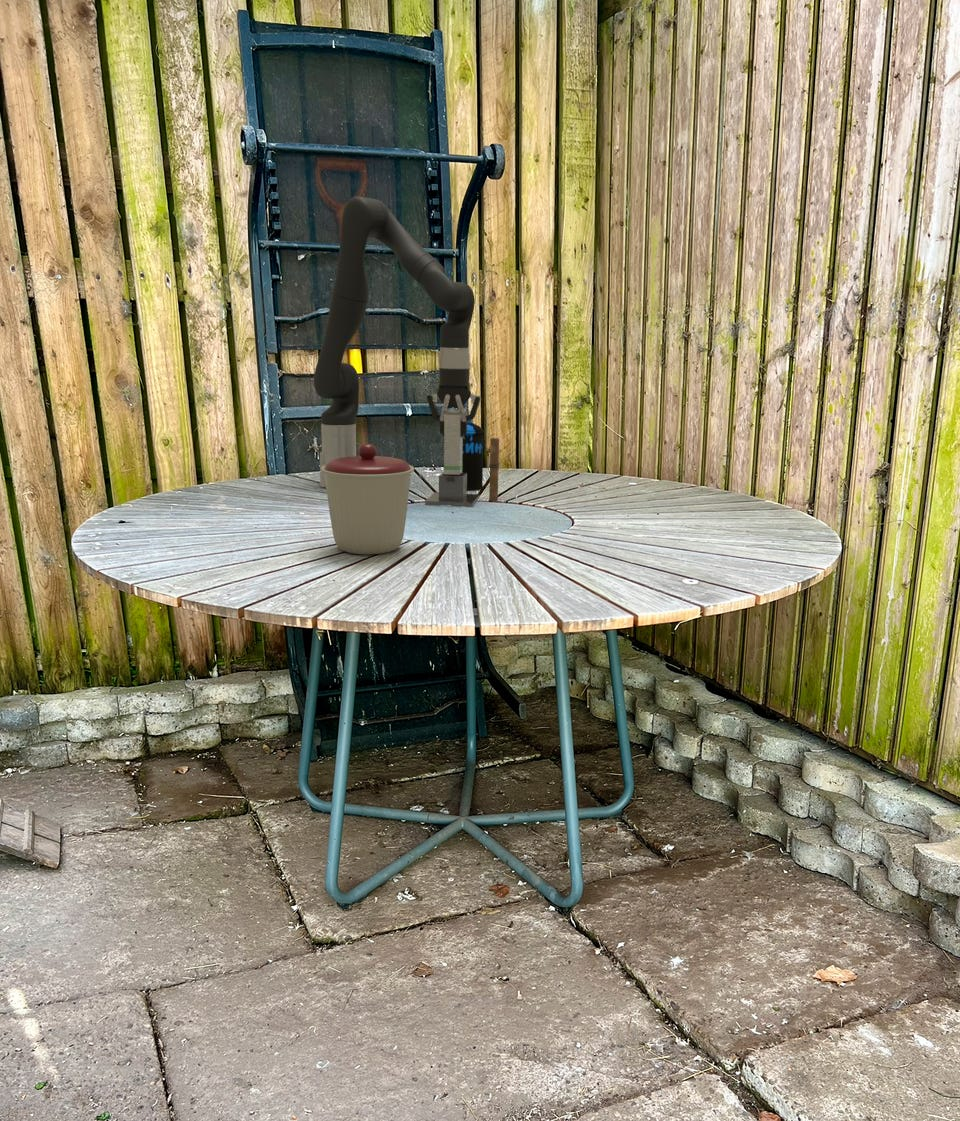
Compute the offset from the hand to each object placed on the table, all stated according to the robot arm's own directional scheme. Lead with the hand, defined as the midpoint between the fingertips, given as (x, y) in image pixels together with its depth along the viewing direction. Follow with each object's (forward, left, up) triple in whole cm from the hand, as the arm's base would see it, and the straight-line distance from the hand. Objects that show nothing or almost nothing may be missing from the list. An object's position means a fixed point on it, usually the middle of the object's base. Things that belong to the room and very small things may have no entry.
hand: (453, 436), depth 224 cm
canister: (-8, -53, -17) cm, 56 cm away
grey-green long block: (0, 0, -9) cm, 9 cm away
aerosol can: (+1, +20, -17) cm, 26 cm away
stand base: (0, 0, -17) cm, 17 cm away
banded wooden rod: (+10, +4, -17) cm, 20 cm away
